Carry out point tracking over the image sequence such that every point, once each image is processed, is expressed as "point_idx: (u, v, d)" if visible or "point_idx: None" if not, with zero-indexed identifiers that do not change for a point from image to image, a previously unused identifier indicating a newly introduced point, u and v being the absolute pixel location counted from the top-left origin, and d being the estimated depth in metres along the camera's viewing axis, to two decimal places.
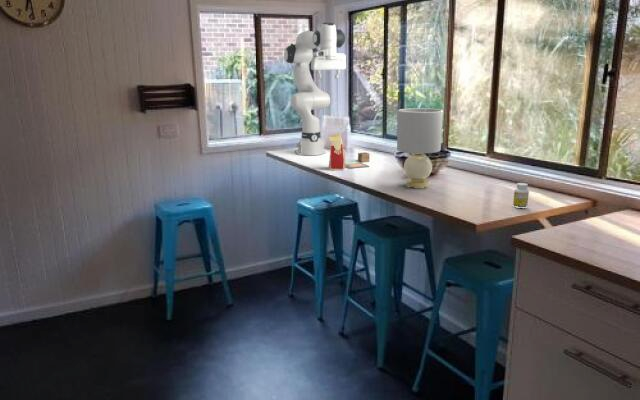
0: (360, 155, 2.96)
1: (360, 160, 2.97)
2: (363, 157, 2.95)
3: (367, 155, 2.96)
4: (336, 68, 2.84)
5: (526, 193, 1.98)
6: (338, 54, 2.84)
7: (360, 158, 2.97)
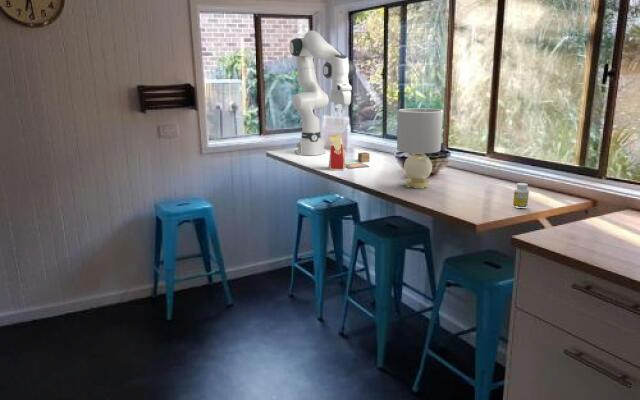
0: (360, 155, 2.96)
1: (360, 160, 2.97)
2: (363, 157, 2.95)
3: (367, 155, 2.96)
4: None
5: (526, 193, 1.98)
6: None
7: (360, 158, 2.97)
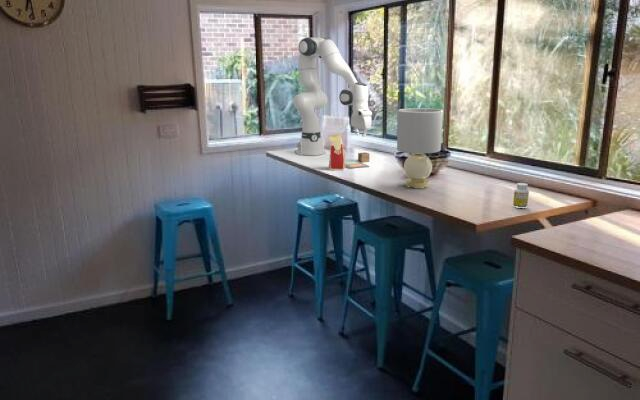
0: (360, 155, 2.96)
1: (360, 160, 2.97)
2: (363, 157, 2.95)
3: (367, 155, 2.96)
4: None
5: (526, 193, 1.98)
6: None
7: (360, 158, 2.97)
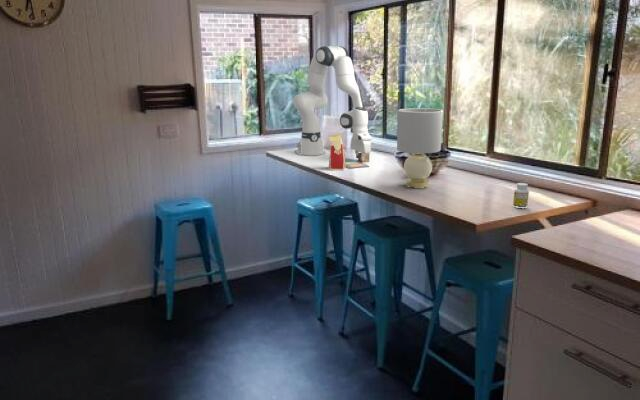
0: (360, 155, 2.96)
1: (360, 160, 2.97)
2: None
3: (367, 155, 2.96)
4: None
5: (526, 193, 1.98)
6: None
7: (360, 158, 2.97)
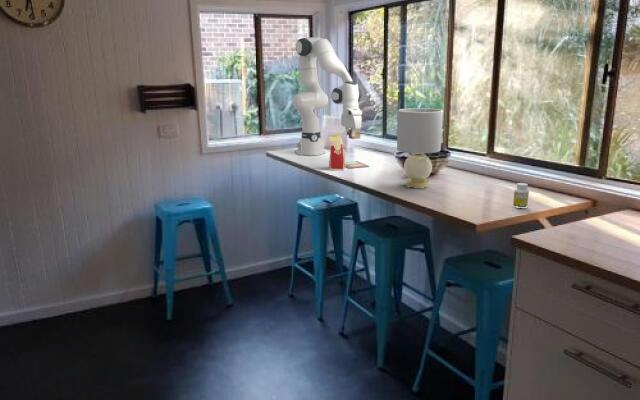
0: (351, 131, 2.86)
1: (351, 136, 2.87)
2: None
3: (358, 131, 2.86)
4: None
5: (526, 193, 1.98)
6: None
7: None
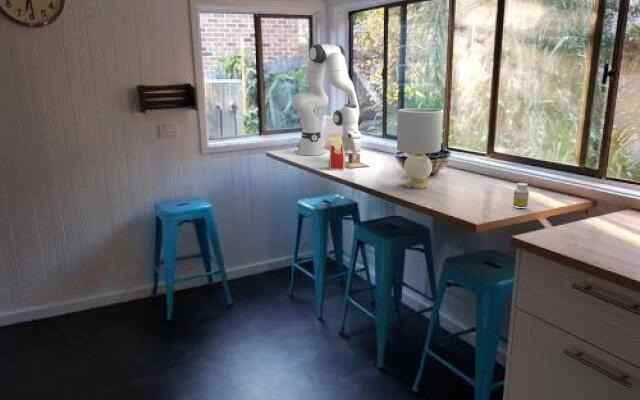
0: (350, 156, 2.90)
1: (350, 161, 2.90)
2: None
3: (357, 156, 2.89)
4: None
5: (526, 193, 1.98)
6: None
7: (350, 158, 2.90)
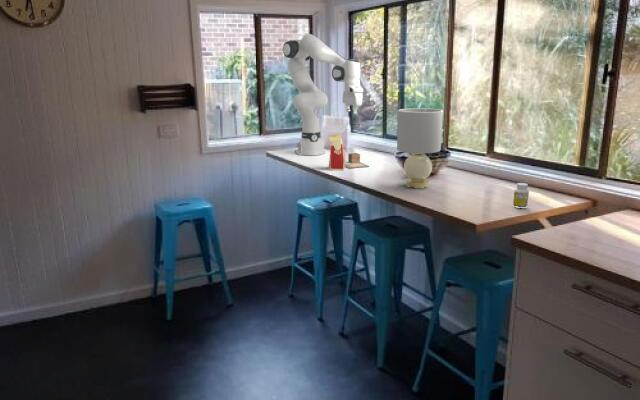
0: (350, 156, 2.90)
1: (350, 161, 2.90)
2: (353, 158, 2.89)
3: (357, 156, 2.89)
4: None
5: (526, 193, 1.98)
6: None
7: (350, 158, 2.90)
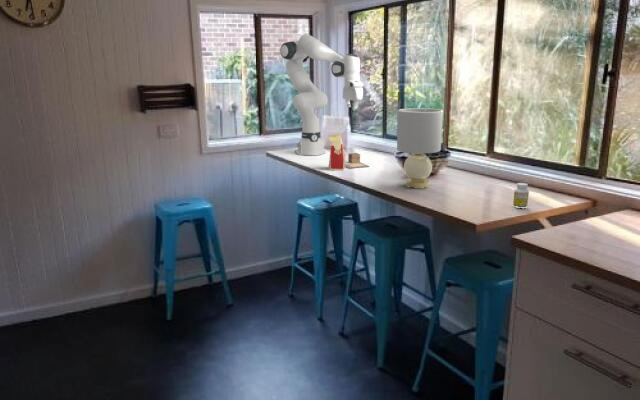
0: (350, 156, 2.90)
1: (350, 161, 2.90)
2: (353, 158, 2.89)
3: (357, 156, 2.89)
4: None
5: (526, 193, 1.98)
6: None
7: (350, 158, 2.90)
